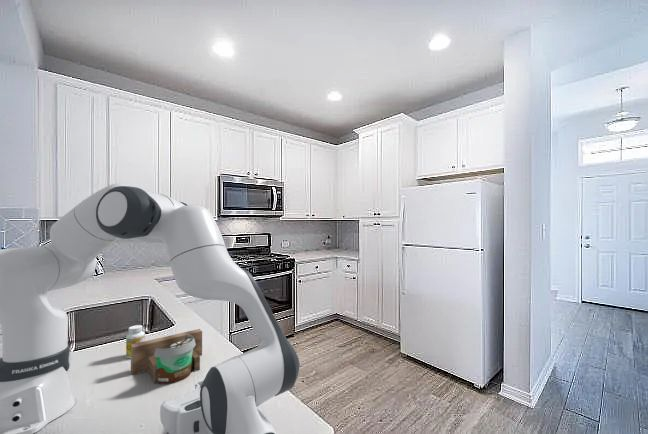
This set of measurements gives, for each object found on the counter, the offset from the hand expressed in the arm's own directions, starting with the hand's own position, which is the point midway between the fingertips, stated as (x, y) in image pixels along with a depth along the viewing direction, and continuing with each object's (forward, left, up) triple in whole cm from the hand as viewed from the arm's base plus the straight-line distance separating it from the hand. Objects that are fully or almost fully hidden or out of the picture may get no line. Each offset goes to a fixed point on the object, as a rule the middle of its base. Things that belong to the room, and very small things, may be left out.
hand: (201, 384), depth 72 cm
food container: (0, +18, -5) cm, 19 cm away
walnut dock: (0, +25, -5) cm, 26 cm away
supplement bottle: (-7, +44, -5) cm, 45 cm away
